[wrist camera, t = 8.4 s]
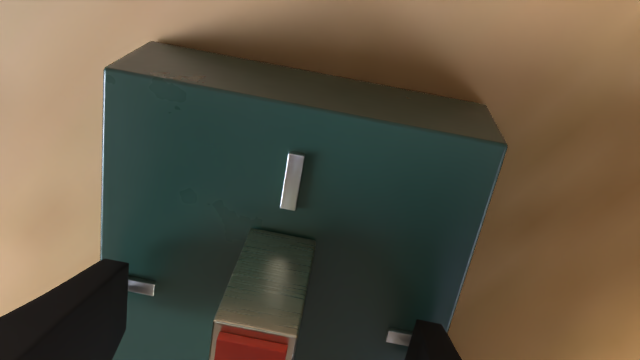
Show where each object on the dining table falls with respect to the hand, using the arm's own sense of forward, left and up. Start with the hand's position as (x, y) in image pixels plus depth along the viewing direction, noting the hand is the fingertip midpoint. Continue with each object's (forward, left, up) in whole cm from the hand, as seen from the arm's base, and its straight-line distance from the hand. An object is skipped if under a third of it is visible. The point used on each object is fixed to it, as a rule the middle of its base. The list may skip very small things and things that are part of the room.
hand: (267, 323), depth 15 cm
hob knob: (0, 0, -1) cm, 1 cm away
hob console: (0, 0, -4) cm, 4 cm away
